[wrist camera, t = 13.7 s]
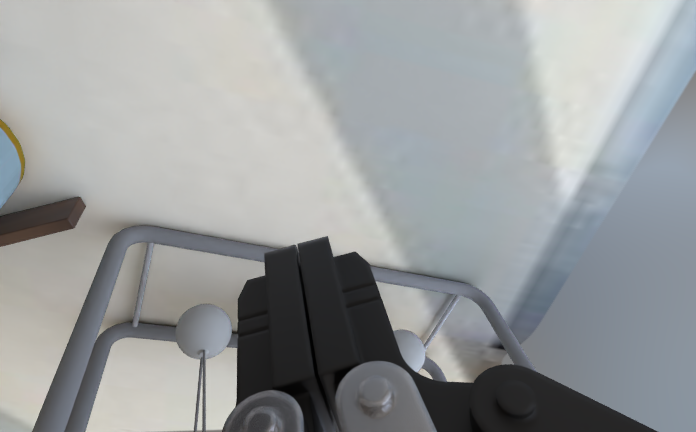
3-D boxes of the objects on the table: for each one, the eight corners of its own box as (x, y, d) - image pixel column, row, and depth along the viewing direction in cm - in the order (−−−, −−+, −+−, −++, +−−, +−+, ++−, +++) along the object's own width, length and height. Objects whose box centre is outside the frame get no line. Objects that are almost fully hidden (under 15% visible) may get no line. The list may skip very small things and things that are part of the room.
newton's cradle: (101, 325, 35) (0, 621, 20) (117, 216, 30) (-1, 503, 16) (432, 361, 45) (520, 573, 31) (484, 284, 40) (618, 493, 26)
